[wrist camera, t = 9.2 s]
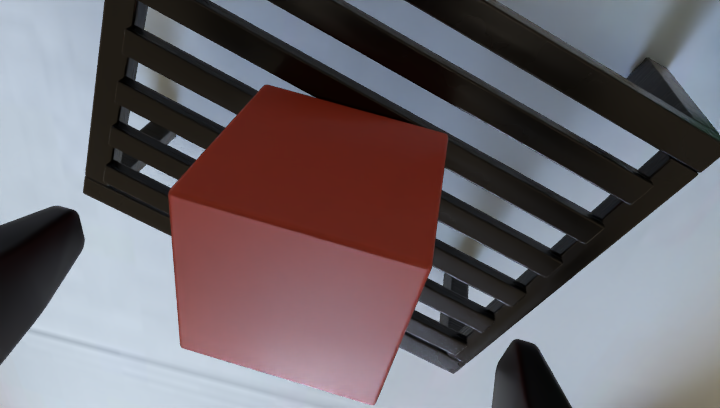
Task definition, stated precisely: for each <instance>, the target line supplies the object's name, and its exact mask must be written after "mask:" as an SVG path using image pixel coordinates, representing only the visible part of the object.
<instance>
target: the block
mask: <svg viewBox="0 0 720 408" xmlns="http://www.w3.org/2000/svg"><path fill="white" fill-rule="evenodd" d="M447 143H448V135H447V134H445V133H442V132H438V131H435V130H431V129H427V128H424V127H420V126H416V125H413V124H409V123H405V122H402V121H398V120H394V119H391V118H387V117H384V116H380V115H376V114H373V113H369V112H365V111H362V110H358V109H354V108H351V107H347V106H344V105H340V104H336V103H333V102H329V101H325V100H322V99H318V98H314V97H311V96H307V95H303V94H300V93H296V92H293V91H289V90H285V89H282V88H278V87H274V86H271V85H264V86H263V87H262V88H261V89H260V90H259V91H258V92H257V94H256V95H255V96H254V97H253V98H252V99H251V100H250V101H249V102H248V104H247V105H246V106H245V107H244V108H243V109H242V110H241V111H240V112H239V113H238V115H237V116H236V117H235V118H234V119H233V120H232V121H231V122H230V123H229V125H228V126H227V127H226V128H225V129H224V130H223V131H222V132H221V133H220V134H219V136H218V137H217V138H216V139H215V140H214V141H213V142H212V143H211V144H210V146H209V147H208V148H207V149H206V150H205V151H204V152H203V153H202V154H201V155H200V157H199V158H198V159H197V160H196V161H195V162H194V163H193V164H192V165H191V167H190V168H189V169H188V170H187V171H186V172H185V173H184V174H183V175H182V176H181V178H180V179H179V180H178V181H177V182H176V183H175V184H174V185H173V186H172V188H171V189H170V190H169V193H168V199H169V211H170V224H171V236H172V249H173V261H174V273H175V286H176V298H177V311H178V323H179V336H180V346H181V347H182V348H184V349H187V350H190V351H194V352H197V353H200V354H204V355H207V356H210V357H214V358H217V359H220V360H223V361H227V362H230V363H233V364H237V365H240V366H243V367H247V368H250V369H253V370H256V371H260V372H263V373H266V374H270V375H273V376H276V377H280V378H283V379H286V380H289V381H293V382H296V383H299V384H303V385H306V386H309V387H313V388H316V389H319V390H322V391H326V392H329V393H332V394H336V395H339V396H342V397H346V398H349V399H352V400H355V401H359V402H362V403H365V404H369V405H375V403H376V402H377V399H378V397H379V394H380V392H381V390H382V387H383V385H384V382H385V380H386V377H387V375H388V373H389V370H390V368H391V365H392V363H393V360H394V358H395V356H396V353H397V351H398V348H399V346H400V344H401V341H402V339H403V336H404V334H405V331H406V329H407V327H408V324H409V322H410V319H411V317H412V314H413V312H414V310H415V307H416V305H417V302H418V300H419V297H420V295H421V293H422V290H423V288H424V285H425V283H426V281H427V278H428V276H429V273H430V271H431V268H432V262H433V254H434V246H435V238H436V230H437V223H438V215H439V207H440V199H441V191H442V183H443V175H444V167H445V159H446V151H447Z"/></svg>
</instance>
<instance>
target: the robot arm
mask: <svg viewBox="0 0 720 408" xmlns="http://www.w3.org/2000/svg"><path fill="white" fill-rule="evenodd" d="M84 242H85V239H84V234H83V230H82V226H81V222H80V218H79V215H78V213H77V212H76V211H74V210H72V209H68V208H65V207H61V206H52V207H49V208H46V209H44V210H41V211H38V212H35V213H33V214H30V215H27V216H25V217H22V218H19V219H16V220H14V221H11V222H8V223H6V224H3V225H0V365H1V364H2V362H3V361H4V360H5V359H6V357H7V356H8V355H9V354H10V352H11V351H12V350H13V349H14V347H15V346H16V345H17V344H18V342H19V341H20V340H21V339H22V337H23V336H24V335H25V334H26V332H27V331H28V330H29V329H30V327H31V326H32V325H33V324H34V322H35V321H36V320H37V318H38V317H39V316H40V314H41V313H42V312H43V310H44V309H45V307H46V306H47V304H48V303H49V301H50V300H51V298H52V297H53V295H54V294H55V292H56V290H57V289H58V287H59V286H60V284H61V283H62V281H63V280H64V278H65V276H66V275H67V273H68V272H69V270H70V269H71V267H72V266H73V264H74V262H75V261H76V259H77V258H78V256H79V255H80V253H81V251H82V249H83V247H84ZM492 408H572V407H571V405H570V403H569V401H568V400H567V398H566V396H565V394H564V393H563V391H562V389H561V387H560V386H559V384H558V382H557V380H556V378H555V377H554V375H553V373H552V371H551V370H550V368H549V366H548V364H547V362H546V361H545V359H544V357H543V355H542V354H541V352H540V350H539V348H538V347H537V346H536V345H535V344H533V343H530V342H526V341H523V340H519V339H515V340H513V341H512V342H511V344H510V345H509V347H508V348H507V350H506V351H505V353H504V354H503V356H502V357H501V359H500V360H499V362H498V365H497V368H496V373H495V383H494V392H493V401H492Z"/></svg>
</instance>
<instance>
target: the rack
mask: <svg viewBox="0 0 720 408" xmlns="http://www.w3.org/2000/svg"><path fill="white" fill-rule="evenodd" d="M268 1H270V2H271V3H273V4H275V5H277V6H278V7H280V8H282V9H284V10H286V11H287V12H289V13H291V14H293V15H294V16H296V17H298V18H300V19H301V20H303V21H305V22H307V23H309V24H310V25H312V26H314V27H316V28H317V29H319V30H321V31H323V32H324V33H326V34H328V35H330V36H332V37H333V38H335V39H337V40H339V41H340V42H342V43H344V44H346V45H347V46H349V47H351V48H353V49H355V50H356V51H358V52H360V53H362V54H363V55H365V56H367V57H369V58H371V59H372V60H374V61H376V62H378V63H379V64H381V65H383V66H385V67H386V68H388V69H390V70H392V71H394V72H395V73H397V74H399V75H401V76H402V77H404V78H406V79H408V80H409V81H411V82H413V83H415V84H417V85H418V86H420V87H422V88H424V89H425V90H427V91H429V92H431V93H432V94H434V95H436V96H438V97H440V98H441V99H443V100H445V101H447V102H448V103H450V104H452V105H454V106H456V107H457V108H459V109H461V110H463V111H464V112H466V113H468V114H470V115H471V116H473V117H475V118H477V119H479V120H480V121H482V122H484V123H486V124H487V125H489V126H491V127H493V128H494V129H496V130H498V131H500V132H502V133H503V134H505V135H507V136H509V137H510V138H512V139H514V140H516V141H518V142H519V143H521V144H523V145H525V146H526V147H528V148H530V149H532V150H533V151H535V152H537V153H539V154H541V155H542V156H544V157H546V158H548V159H549V160H551V161H553V162H555V163H556V164H558V165H560V166H562V167H564V168H565V169H567V170H569V171H571V172H572V173H574V174H576V175H578V176H579V177H581V178H583V179H585V180H587V181H588V182H590V183H592V184H594V185H595V186H597V187H599V188H601V189H603V190H604V191H606V192H608V193H610V194H611V195H610V196H608V197H607V198H606V199H605V200H604V201H603V202H602V203H601V204H600V205H598V206H597V207H596V208H595V209H594V210H593V211H592V212H589V211H587V210H586V209H584V208H582V207H580V206H578V205H577V204H575V203H573V202H571V201H569V200H568V199H566V198H564V197H562V196H560V195H559V194H557V193H555V192H553V191H551V190H550V189H548V188H546V187H544V186H542V185H541V184H539V183H537V182H535V181H533V180H532V179H530V178H528V177H526V176H524V175H523V174H521V173H519V172H517V171H515V170H514V169H512V168H510V167H508V166H506V165H505V164H503V163H501V162H499V161H497V160H496V159H494V158H492V157H490V156H488V155H487V154H485V153H483V152H481V151H479V150H478V149H476V148H474V147H472V146H470V145H469V144H467V143H465V142H463V141H461V140H460V139H458V138H456V137H454V136H452V135H451V134H449V133H447V132H445V131H443V130H442V129H440V128H438V127H436V126H434V125H433V124H431V123H429V122H427V121H425V120H424V119H422V118H420V117H418V116H416V115H415V114H413V113H411V112H409V111H407V110H406V109H404V108H402V107H400V106H398V105H397V104H395V103H393V102H391V101H389V100H388V99H386V98H384V97H382V96H380V95H379V94H377V93H375V92H373V91H372V90H370V89H368V88H366V87H364V86H363V85H361V84H359V83H357V82H355V81H354V80H352V79H350V78H348V77H346V76H345V75H343V74H341V73H339V72H337V71H336V70H334V69H332V68H330V67H328V66H327V65H325V64H323V63H321V62H319V61H318V60H316V59H314V58H312V57H310V56H309V55H307V54H305V53H303V52H301V51H300V50H298V49H296V48H294V47H292V46H291V45H289V44H287V43H285V42H283V41H282V40H280V39H278V38H276V37H274V36H273V35H271V34H269V33H267V32H265V31H264V30H262V29H260V28H258V27H256V26H255V25H253V24H251V23H249V22H247V21H246V20H244V19H242V18H240V17H238V16H237V15H235V14H233V13H231V12H229V11H228V10H226V9H224V8H222V7H220V6H219V5H217V4H215V3H213V2H211V1H210V0H105V2H104V11H103V20H102V29H101V38H100V47H99V56H98V65H97V74H96V83H95V92H94V101H93V110H92V119H91V128H90V137H89V145H88V154H87V163H86V172H85V175H86V176H85V180H84V189H83V193H84V194H86V195H88V196H90V197H92V198H94V199H96V200H98V201H100V202H102V203H104V204H106V205H109V206H111V207H113V208H115V209H117V210H119V211H121V212H123V213H125V214H127V215H129V216H131V217H133V218H135V219H137V220H139V221H141V222H143V223H145V224H147V225H149V226H152V227H154V228H156V229H158V230H160V231H162V232H164V233H166V234H168V235H170V236H171V224H170V211H169V199H168V193H169V190H170V189H171V188H170V187H168V186H166V185H164V184H162V183H160V182H158V181H156V180H154V179H152V178H150V177H148V176H146V175H144V174H142V173H140V172H139V171H140V170H141V169H142V168H143V167H144V166H145V165H146V164H148V165H150V166H152V167H154V168H156V169H158V170H160V171H162V172H164V173H166V174H167V175H169V176H171V177H173V178H175V179H177V180H179V179H180V178H181V176H182V175H183V174H184V173H185V172H186V171H187V170H188V169H189V168H190V167H191V165H192V164H193V163H194V162H195V161H196V159H194V158H192V157H190V156H188V155H186V154H184V153H182V152H180V151H178V150H176V149H174V148H172V147H170V146H168V145H167V144H168V143H169V142H170V141H171V140H173V139H174V138H175V137H176V134H177V135H179V136H181V137H183V138H184V139H186V140H188V141H190V142H192V143H194V144H196V145H198V146H200V147H202V148H204V149H207V148H208V147H209V146H210V144H211V143H212V142H213V141H214V140H215V139H216V138H217V137H218V136H219V134H220V133H221V132H222V131H223V130H224V129H225V127H223V126H221V125H219V124H217V123H215V122H213V121H211V120H209V119H207V118H205V117H204V116H202V115H200V114H198V113H196V112H194V111H192V110H190V109H188V108H186V107H185V106H183V105H181V104H179V103H177V102H175V101H173V100H171V99H169V98H167V97H165V96H164V95H162V94H160V93H158V92H156V91H154V90H152V89H150V88H148V87H146V86H144V85H143V84H141V83H139V82H137V81H135V79H136V73H137V67H138V62H139V63H141V64H142V65H144V66H146V67H148V68H150V69H152V70H154V71H156V72H158V73H159V74H161V75H163V76H165V77H167V78H169V79H171V80H173V81H175V82H176V83H178V84H180V85H182V86H184V87H186V88H188V89H190V90H192V91H193V92H195V93H197V94H199V95H201V96H203V97H205V98H207V99H209V100H210V101H212V102H214V103H216V104H218V105H220V106H222V107H224V108H226V109H227V110H229V111H231V112H233V113H235V114H237V115H238V113H239V112H240V111H241V110H242V109H243V108H244V107H245V106H246V105H247V104H248V102H249V101H250V100H251V99H252V98H253V97H254V96H255V95H256V94H257V92H258V91H257V90H255V89H253V88H251V87H250V86H248V85H246V84H244V83H242V82H240V81H238V80H237V79H235V78H233V77H231V76H229V75H227V74H225V73H224V72H222V71H220V70H218V69H216V68H214V67H212V66H211V65H209V64H207V63H205V62H203V61H201V60H199V59H198V58H196V57H194V56H192V55H190V54H188V53H186V52H185V51H183V50H181V49H179V48H177V47H175V46H173V45H172V44H170V43H168V42H166V41H164V40H162V39H161V38H159V37H157V36H155V35H153V34H151V33H149V32H148V31H146V30H144V27H145V21H146V15H147V9H148V6H149V7H151V8H152V9H154V10H156V11H158V12H160V13H162V14H163V15H165V16H167V17H169V18H171V19H173V20H174V21H176V22H178V23H180V24H182V25H184V26H185V27H187V28H189V29H191V30H193V31H195V32H196V33H198V34H200V35H202V36H204V37H206V38H207V39H209V40H211V41H213V42H215V43H217V44H218V45H220V46H222V47H224V48H226V49H228V50H229V51H231V52H233V53H235V54H237V55H239V56H240V57H242V58H244V59H246V60H248V61H250V62H251V63H253V64H255V65H257V66H259V67H261V68H262V69H264V70H266V71H268V72H270V73H272V74H273V75H275V76H277V77H279V78H281V79H283V80H284V81H286V82H288V83H290V84H292V85H294V86H295V87H297V88H299V89H301V90H303V91H305V92H306V93H308V94H310V95H312V96H314V97H316V98H318V99H322V100H325V101H329V102H333V103H336V104H340V105H344V106H347V107H351V108H354V109H358V110H362V111H365V112H369V113H373V114H376V115H380V116H384V117H387V118H391V119H394V120H398V121H402V122H405V123H409V124H413V125H416V126H420V127H424V128H427V129H431V130H435V131H438V132H442V133H445V134H447V135H448V143H447V151H446V159H445V167H444V168H446V169H448V170H449V171H451V172H453V173H455V174H457V175H459V176H460V177H462V178H464V179H466V180H468V181H470V182H471V183H473V184H475V185H477V186H479V187H481V188H482V189H484V190H486V191H488V192H490V193H492V194H493V195H495V196H497V197H499V198H501V199H503V200H504V201H506V202H508V203H510V204H512V205H514V206H515V207H517V208H519V209H521V210H523V211H525V212H526V213H528V214H530V215H532V216H534V217H536V218H537V219H539V220H541V221H543V222H545V223H547V224H548V225H550V226H552V227H554V228H556V229H558V230H559V231H561V232H563V233H565V234H566V235H565V236H564V237H563V238H562V239H561V240H560V241H559V242H557V243H556V244H555V245H554V246H553V247H552V248H551V249H550V248H548V247H547V246H545V245H543V244H541V243H539V242H537V241H535V240H534V239H532V238H530V237H528V236H526V235H524V234H522V233H521V232H519V231H517V230H515V229H513V228H511V227H510V226H508V225H506V224H504V223H502V222H500V221H498V220H497V219H495V218H493V217H491V216H489V215H487V214H485V213H484V212H482V211H480V210H478V209H476V208H474V207H472V206H471V205H469V204H467V203H465V202H463V201H461V200H459V199H458V198H456V197H454V196H452V195H450V194H448V193H446V192H445V191H443V190H442V191H441V199H440V207H439V215H438V221H439V222H441V223H443V224H445V225H447V226H448V227H450V228H452V229H454V230H456V231H458V232H460V233H462V234H464V235H465V236H467V237H469V238H471V239H473V240H475V241H477V242H479V243H481V244H482V245H484V246H486V247H488V248H490V249H492V250H494V251H496V252H498V253H499V254H501V255H503V256H505V257H507V258H509V259H511V260H513V261H515V262H516V263H518V264H520V265H522V266H524V267H526V268H528V270H526V271H525V272H524V273H523V274H522V275H521V276H520V277H519V278H518V279H516V280H515V279H513V278H511V277H509V276H507V275H505V274H503V273H501V272H499V271H497V270H496V269H494V268H492V267H490V266H488V265H486V264H484V263H482V262H480V261H478V260H476V259H475V258H473V257H471V256H469V255H467V254H465V253H463V252H461V251H459V250H457V249H455V248H454V247H452V246H450V245H448V244H446V243H444V242H442V241H440V240H438V239H436V238H435V246H434V254H433V262H432V266H433V267H435V268H437V269H439V270H440V271H442V272H444V273H445V274H444V281H443V286H442V285H440V284H438V283H436V282H434V281H432V280H430V279H428V278H427V281H426V283H425V285H424V288H423V290H422V293H421V295H420V297H419V300H418V301H420V302H422V303H424V304H426V305H428V306H430V307H432V308H434V309H435V310H437V311H439V312H440V323H439V322H437V321H435V320H433V319H431V318H429V317H427V316H425V315H423V314H421V313H419V312H417V311H415V310H414V312H413V314H412V317H411V319H410V322H409V324H408V327H407V329H406V331H405V334H404V336H403V339H402V341H401V344H400V346H399V347H400V348H402V349H404V350H406V351H408V352H410V353H412V354H414V355H416V356H418V357H420V358H422V359H424V360H426V361H428V362H430V363H432V364H434V365H436V366H438V367H441V368H443V369H445V370H447V371H449V372H451V373H453V374H454V373H455V372H457V371H458V370H459V369H460V368H462V367H463V366H464V365H465V364H466V363H468V362H469V361H470V360H471V359H473V358H474V357H475V356H476V355H478V354H479V353H480V352H481V351H482V350H484V349H485V348H486V347H487V346H489V345H490V344H491V343H492V342H494V341H495V340H496V339H497V338H498V337H500V336H501V335H502V334H503V333H505V332H506V331H507V330H508V329H509V328H511V327H512V326H513V325H514V324H516V323H517V322H518V321H519V320H521V319H522V318H523V317H524V316H525V315H527V314H528V313H529V312H530V311H532V310H533V309H534V308H535V307H536V306H538V305H539V304H540V303H541V302H543V301H544V300H545V299H546V298H548V297H549V296H550V295H551V294H552V293H554V292H555V291H556V290H557V289H559V288H560V287H561V286H562V285H563V284H565V283H566V282H567V281H568V280H570V279H571V278H572V277H573V276H575V275H576V274H577V273H578V272H579V271H581V270H582V269H583V268H584V267H586V266H587V265H588V264H589V263H590V262H592V261H593V260H594V259H595V258H597V257H598V256H599V255H600V254H602V253H603V252H604V251H605V250H606V249H608V248H609V247H610V246H611V245H613V244H614V243H615V242H616V241H618V240H619V239H620V238H621V237H622V236H624V235H625V234H626V233H627V232H629V231H630V230H631V229H632V228H633V227H635V226H636V225H637V224H638V223H640V222H641V221H642V220H643V219H645V218H646V217H647V216H648V215H649V214H651V213H652V212H653V211H654V210H656V209H657V208H658V207H659V206H660V205H662V204H663V203H664V202H665V201H667V200H668V199H669V198H670V197H672V196H673V195H674V194H675V193H676V192H678V191H679V190H680V189H681V188H683V187H684V186H685V185H686V184H687V183H689V182H690V181H691V180H692V179H694V178H695V177H696V176H697V175H698V173H700V172H702V171H703V170H705V169H706V168H707V167H708V166H710V165H711V164H712V163H713V162H714V161H716V160H717V159H718V158H719V157H720V135H719V133H718V132H717V131H716V129H715V128H714V127H713V126H712V124H711V123H710V122H709V121H708V119H707V118H706V117H705V116H704V114H703V113H702V112H701V110H700V109H699V108H698V107H697V105H696V104H695V103H694V102H693V100H692V99H691V98H690V97H689V95H688V94H687V93H686V92H685V90H684V89H683V88H682V87H681V85H680V84H679V83H678V82H677V80H676V79H675V78H674V77H673V75H672V74H671V73H670V72H669V70H668V69H666V68H665V67H663V66H661V65H660V64H658V63H656V62H655V61H653V60H651V59H650V58H645V59H644V61H643V62H642V63H641V64H640V65H639V66H638V67H637V68H636V69H635V70H634V71H633V72H632V73H631V74H630V76H629V77H628V78H627V79H626V78H624V77H622V76H621V75H619V74H617V73H616V72H614V71H612V70H611V69H609V68H607V67H606V66H604V65H602V64H601V63H599V62H597V61H596V60H594V59H592V58H591V57H589V56H587V55H586V54H584V53H582V52H581V51H579V50H577V49H576V48H574V47H572V46H571V45H569V44H567V43H566V42H564V41H562V40H561V39H559V38H557V37H556V36H554V35H552V34H551V33H549V32H547V31H546V30H544V29H543V28H541V27H539V26H538V25H536V24H534V23H533V22H531V21H529V20H528V19H526V18H524V17H523V16H521V15H519V14H518V13H516V12H514V11H513V10H511V9H509V8H508V7H506V6H504V5H503V4H501V3H499V2H498V1H496V0H405V1H406V2H408V3H410V4H412V5H413V6H415V7H417V8H418V9H420V10H422V11H423V12H425V13H427V14H429V15H430V16H432V17H434V18H435V19H437V20H439V21H441V22H442V23H444V24H446V25H447V26H449V27H451V28H452V29H454V30H456V31H458V32H459V33H461V34H463V35H464V36H466V37H468V38H469V39H471V40H473V41H475V42H476V43H478V44H480V45H481V46H483V47H485V48H487V49H488V50H490V51H492V52H493V53H495V54H497V55H498V56H500V57H502V58H504V59H505V60H507V61H509V62H510V63H512V64H514V65H516V66H517V67H519V68H521V69H522V70H524V71H526V72H527V73H529V74H531V75H533V76H534V77H536V78H538V79H539V80H541V81H543V82H545V83H546V84H548V85H550V86H551V87H553V88H555V89H556V90H558V91H560V92H562V93H563V94H565V95H567V96H568V97H570V98H572V99H573V100H575V101H577V102H579V103H580V104H582V105H584V106H585V107H587V108H589V109H591V110H592V111H594V112H596V113H597V114H599V115H601V116H602V117H604V118H606V119H608V120H609V121H611V122H613V123H614V124H616V125H618V126H620V127H621V128H623V129H625V130H626V131H628V132H630V133H631V134H633V135H635V136H637V137H638V138H640V139H642V140H643V141H645V142H647V143H649V144H650V145H652V146H654V147H655V148H657V149H659V151H658V152H657V153H656V154H655V155H654V156H653V157H652V158H651V159H649V160H648V161H647V162H646V163H645V164H644V165H643V166H642V167H641V168H639V169H638V170H637V169H635V168H633V167H631V166H630V165H628V164H626V163H625V162H623V161H621V160H619V159H618V158H616V157H614V156H612V155H611V154H609V153H607V152H605V151H604V150H602V149H600V148H598V147H597V146H595V145H593V144H592V143H590V142H588V141H586V140H585V139H583V138H581V137H579V136H578V135H576V134H574V133H572V132H571V131H569V130H567V129H566V128H564V127H562V126H560V125H559V124H557V123H555V122H553V121H552V120H550V119H548V118H546V117H545V116H543V115H541V114H540V113H538V112H536V111H534V110H533V109H531V108H529V107H527V106H526V105H524V104H522V103H520V102H519V101H517V100H515V99H513V98H512V97H510V96H508V95H507V94H505V93H503V92H501V91H500V90H498V89H496V88H494V87H493V86H491V85H489V84H487V83H486V82H484V81H482V80H481V79H479V78H477V77H475V76H474V75H472V74H470V73H468V72H467V71H465V70H463V69H461V68H460V67H458V66H456V65H455V64H453V63H451V62H449V61H448V60H446V59H444V58H442V57H441V56H439V55H437V54H435V53H434V52H432V51H430V50H429V49H427V48H425V47H423V46H422V45H420V44H418V43H416V42H415V41H413V40H411V39H409V38H408V37H406V36H404V35H402V34H401V33H399V32H397V31H396V30H394V29H392V28H390V27H389V26H387V25H385V24H383V23H382V22H380V21H378V20H376V19H375V18H373V17H371V16H370V15H368V14H366V13H364V12H363V11H361V10H359V9H357V8H356V7H354V6H352V5H350V4H349V3H347V2H345V1H344V0H268ZM130 111H132V112H134V113H136V114H138V115H140V116H142V117H144V118H146V119H148V120H150V121H151V122H149V123H148V124H147V125H146V126H145V127H143V128H142V129H141V130H140V131H139V130H137V129H135V128H133V127H131V126H129V125H128V119H129V113H130ZM697 172H698V173H697ZM468 285H470V286H472V287H473V288H475V289H477V290H479V291H481V292H483V293H485V294H487V295H489V296H491V297H493V298H495V299H494V300H493V301H492V302H491V303H490V304H489V305H488V306H487V307H483V306H481V305H479V304H477V303H475V302H473V301H471V300H469V299H468Z"/></svg>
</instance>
